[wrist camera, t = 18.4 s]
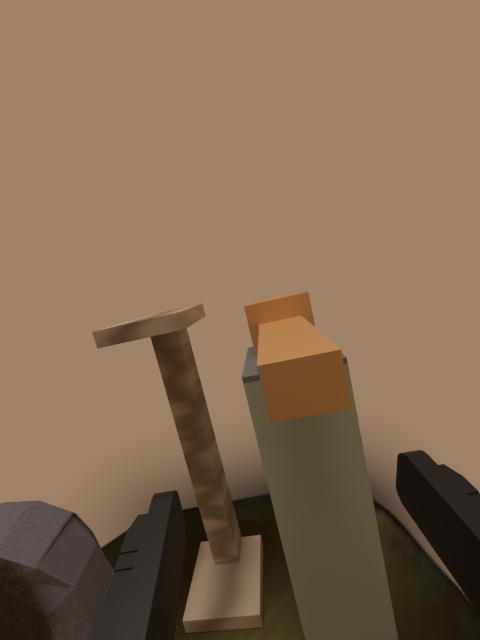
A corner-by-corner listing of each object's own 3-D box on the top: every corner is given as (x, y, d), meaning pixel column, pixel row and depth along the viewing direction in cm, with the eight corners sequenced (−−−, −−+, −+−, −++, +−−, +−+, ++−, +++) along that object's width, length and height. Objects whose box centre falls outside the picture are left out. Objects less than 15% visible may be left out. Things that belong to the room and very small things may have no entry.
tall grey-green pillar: (306, 646, 23) (242, 377, 20) (294, 545, 32) (248, 347, 29) (398, 639, 22) (346, 357, 19) (359, 538, 31) (319, 333, 28)
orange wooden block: (250, 425, 13) (227, 330, 12) (256, 346, 29) (246, 302, 28) (373, 405, 12) (355, 302, 12) (310, 335, 28) (301, 290, 27)
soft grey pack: (-69, 807, 20) (-184, 588, 17) (17, 653, 28) (-51, 490, 25) (128, 746, 20) (46, 526, 18) (155, 613, 28) (101, 451, 26)
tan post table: (186, 633, 26) (92, 331, 22) (203, 551, 34) (136, 318, 30) (263, 627, 25) (179, 311, 21) (262, 544, 33) (202, 303, 29)
